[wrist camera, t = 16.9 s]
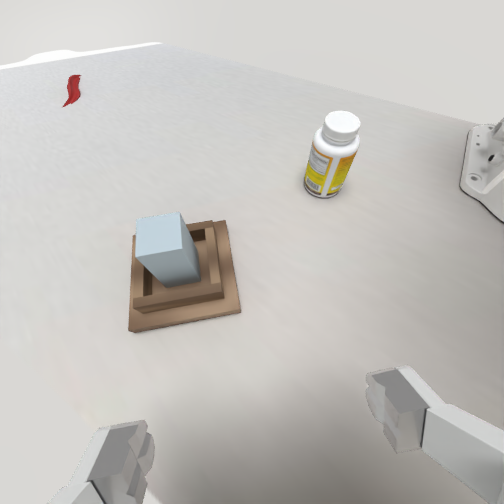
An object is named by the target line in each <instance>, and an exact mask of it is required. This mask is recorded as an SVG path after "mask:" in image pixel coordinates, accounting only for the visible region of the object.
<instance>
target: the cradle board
mask: <svg viewBox="0 0 504 504" xmlns="http://www.w3.org/2000/svg"><path fill="white" fill-rule="evenodd" d="M186 227H187V229H188V231H189V233H190V235H191V237H192V239H193V242H194V244H195V246H196V248H197V250H198V255H199V264H200V274H201V281H200V282H195V283H190V284H185V285H179V286H174V287H169V288H166V287H165V286H164V285H163V284H162V283H161V282H160V281H159V280H158V279H157V278H156V277H155V276H154V275H153V274H152V273H151V272H150V271H149V270H148V269H147V268H146V267H145V266H144V265H143V264H142V263H141V262H140V261H139V260H138V259H137V258H136V257H135V248H136V235H133V244H132V265H131V286H130V307H129V327H128V331H131V332H134V333H137V332H142V331H147V330H152V329H157V328H163V327H168V326H173V325H178V324H183V323H188V322H194V321H199V320H204V319H209V318H214V317H219V316H225V315H230V314H235V313H240V312H241V310H240V304H239V298H238V292H237V286H236V280H235V274H234V268H233V262H232V256H231V250H230V244H229V238H228V232H227V226H226V221H225V220H223V221H217V222H213V221H212V220H211V221H205V222H199V223H193V224H186Z"/></svg>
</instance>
